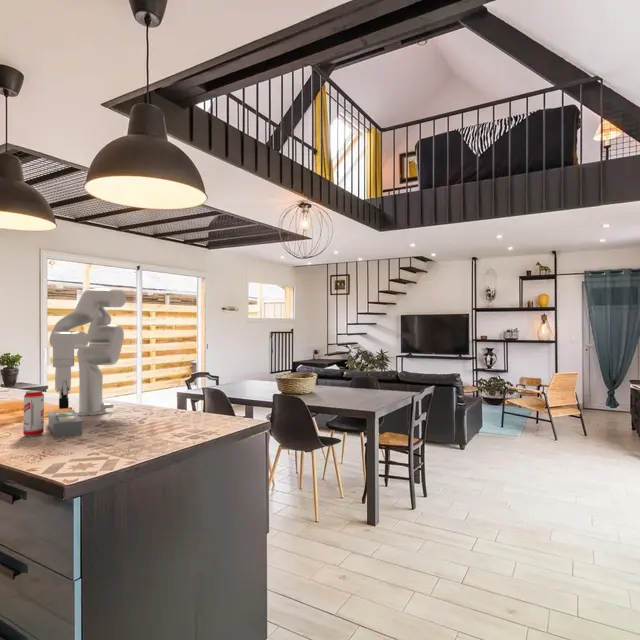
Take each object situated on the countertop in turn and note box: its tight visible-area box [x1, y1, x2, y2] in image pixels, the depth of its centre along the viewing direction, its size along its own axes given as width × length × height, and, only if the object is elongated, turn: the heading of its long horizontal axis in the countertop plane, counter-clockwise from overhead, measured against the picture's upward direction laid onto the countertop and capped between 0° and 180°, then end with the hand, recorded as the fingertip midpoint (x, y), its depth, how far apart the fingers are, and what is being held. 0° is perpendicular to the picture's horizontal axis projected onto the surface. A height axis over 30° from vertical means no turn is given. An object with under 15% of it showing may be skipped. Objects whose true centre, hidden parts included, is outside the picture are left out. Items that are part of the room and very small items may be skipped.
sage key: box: [57, 413, 73, 418], centre depth 174 cm, size 5×5×3 cm
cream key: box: [58, 416, 75, 422], centre depth 167 cm, size 5×5×3 cm
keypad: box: [48, 409, 83, 439], centre depth 174 cm, size 9×27×5 cm, turn 34°
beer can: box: [22, 389, 45, 437], centre depth 164 cm, size 6×6×16 cm
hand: (63, 408), depth 181 cm, fingers closed
